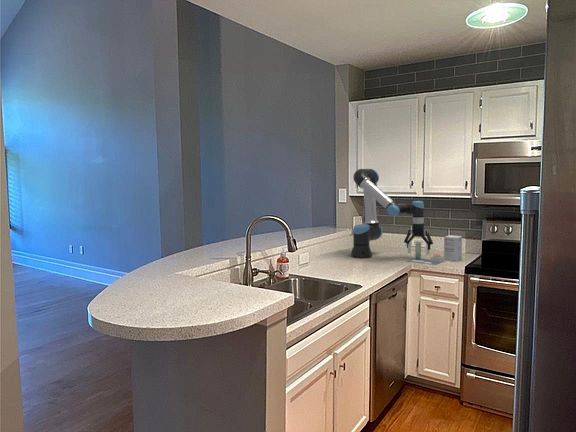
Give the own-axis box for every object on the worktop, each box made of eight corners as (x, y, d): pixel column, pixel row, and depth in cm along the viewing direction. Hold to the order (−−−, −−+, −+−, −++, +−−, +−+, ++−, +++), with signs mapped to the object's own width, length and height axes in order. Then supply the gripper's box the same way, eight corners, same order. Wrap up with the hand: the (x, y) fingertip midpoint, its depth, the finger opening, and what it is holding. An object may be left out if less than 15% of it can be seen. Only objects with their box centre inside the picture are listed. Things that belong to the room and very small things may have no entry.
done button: (433, 259, 282) (433, 253, 281) (435, 258, 284) (435, 252, 284) (438, 260, 279) (438, 254, 279) (440, 259, 282) (440, 253, 282)
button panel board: (404, 262, 285) (404, 256, 285) (414, 258, 297) (414, 252, 297) (435, 266, 270) (435, 259, 270) (445, 262, 282) (445, 256, 282)
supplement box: (448, 258, 293) (448, 235, 292) (462, 260, 288) (462, 235, 286) (443, 261, 286) (443, 236, 285) (457, 262, 280) (457, 237, 279)
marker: (414, 259, 292) (414, 242, 291) (416, 258, 294) (416, 241, 293) (419, 259, 289) (419, 242, 288) (421, 258, 292) (421, 241, 291)
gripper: (399, 223, 295) (399, 252, 297) (433, 224, 279) (433, 256, 280) (404, 222, 301) (404, 251, 303) (438, 223, 284) (438, 254, 286)
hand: (418, 253), depth 291 cm, fingers open, 13 cm apart
